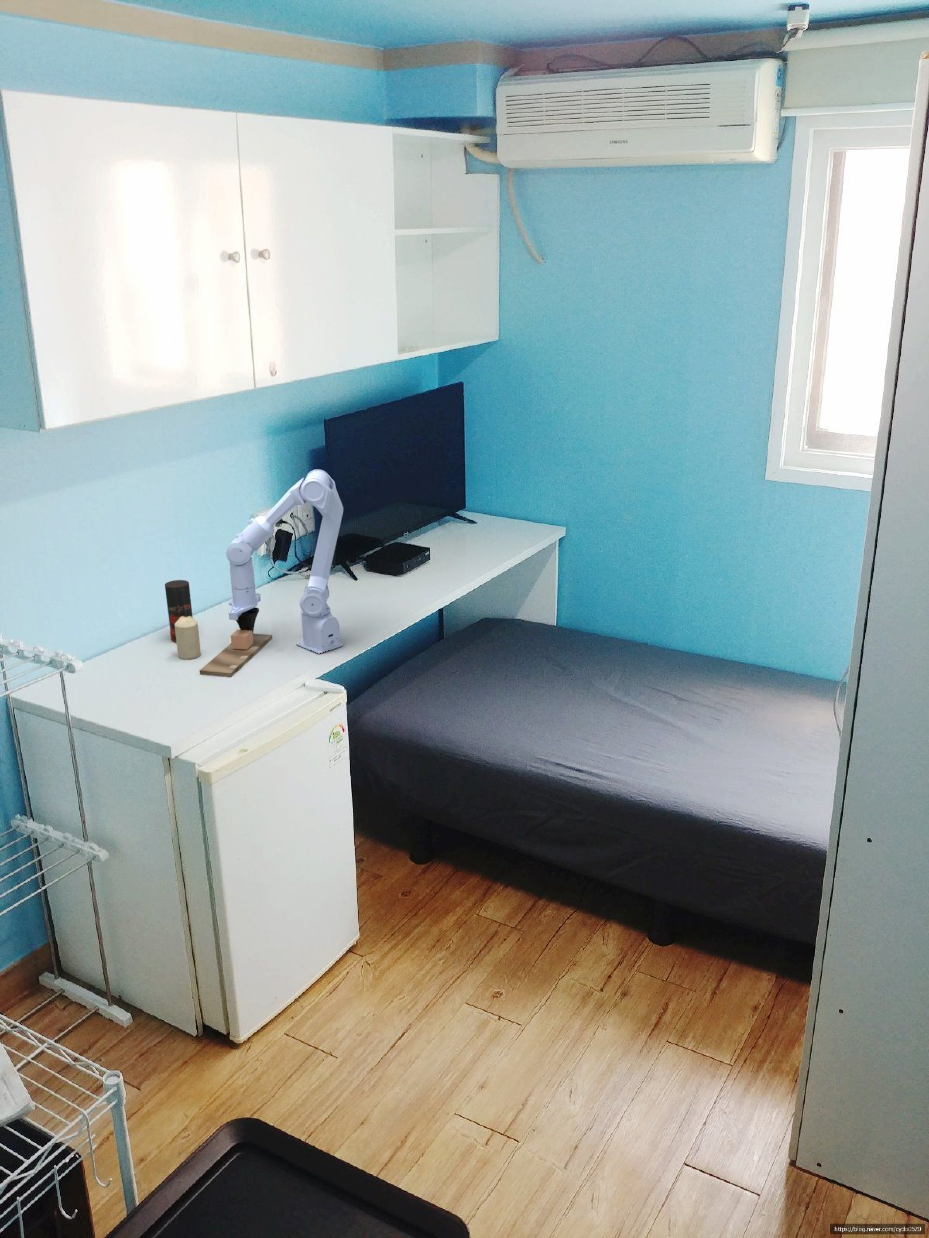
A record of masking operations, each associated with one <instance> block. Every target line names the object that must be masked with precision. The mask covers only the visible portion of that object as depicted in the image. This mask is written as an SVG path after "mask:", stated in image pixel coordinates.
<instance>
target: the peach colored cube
mask: <svg viewBox="0 0 929 1238" xmlns="http://www.w3.org/2000/svg"><path fill="white" fill-rule="evenodd" d="M253 633H254V632H253ZM253 633H252V631H250V630H240V629H236V630H235V631H234V632H232V634H231V635H230V644H232V648H233V649H245V650H247V649H248V648H249V647H250V646H251V645H253Z"/></svg>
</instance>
